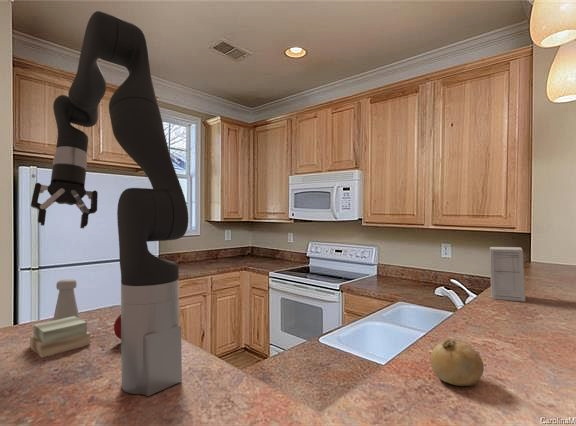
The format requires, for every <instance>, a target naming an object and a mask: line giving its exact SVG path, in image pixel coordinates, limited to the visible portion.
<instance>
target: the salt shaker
mask: <svg viewBox="0 0 576 426" xmlns="http://www.w3.org/2000/svg"><path fill="white" fill-rule="evenodd" d="M55 286H56V290H58V294H57V301H56V304H55V309H54V314H53V317H52V318H53V319H52V321H53V320H58V319H63V318H68V317H73V316H75V317H77V318H79V319H81V318H80V313H79V309H78V306H77V300H76V295H75V290H74V289H76V288H77V280H76V279H73V278H66V279H65V278H64V279H61V280H58V281H57V282H56V285H55Z"/></svg>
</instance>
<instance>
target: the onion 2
mask: <svg viewBox="0 0 576 426" xmlns="http://www.w3.org/2000/svg"><path fill="white" fill-rule="evenodd" d="M429 361H430V363H429V364H430V366H431V369H432V371H433V373H434V375H435V376H436V377H437V378H438V379H439V380H441V381H442V382H445V383H448V384H450V385H454V386H457V387H458V386H460V387H463V386H466V387H467V386H468V387H471V386H476V384H478V383H479V381H480V379H481V378H482V377H483V374H484V371H485V368H484V366H485V365H484V361H483V359H482V356H480V353H478V351H477V350H475V349H474V348H473V347H472V346H470V345H469V344H467V343H464V342H461V341H457V340H453V339H450V338H448V337H447V338H445V339H443V340H441V342H440V343H438V344H437V345H436V346H435V347H434V348H433V350H432V351H431V354H430V359H429Z"/></svg>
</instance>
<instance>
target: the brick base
mask: <svg viewBox="0 0 576 426" xmlns="http://www.w3.org/2000/svg"><path fill="white" fill-rule="evenodd" d="M32 327H33V333H32V335H29V348H30V349H31V350H32V351H34V353H36V354H37V356H40V358H42V359H43V358H46V357H49V356H53V355H56V354H60V353H64V352H67V351H71V350H74V349H79V348H82V347H86V346H89V345H91V332H89V331H88V322H87V321H85V320H83V319H82V318H80V319H79V318H77V317H75V316H73V317H68V318H63V319H58V320H53V319H52V320H48V321H44V322H40V323H35V324H33V325H32Z"/></svg>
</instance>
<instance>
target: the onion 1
mask: <svg viewBox="0 0 576 426" xmlns="http://www.w3.org/2000/svg"><path fill="white" fill-rule="evenodd" d="M113 331H114V335H115V336H116V337H117V338H118V339H119V340H121V313H120V314H119V315H118V316H117V318H116V319H115V321H114V324H113Z"/></svg>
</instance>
